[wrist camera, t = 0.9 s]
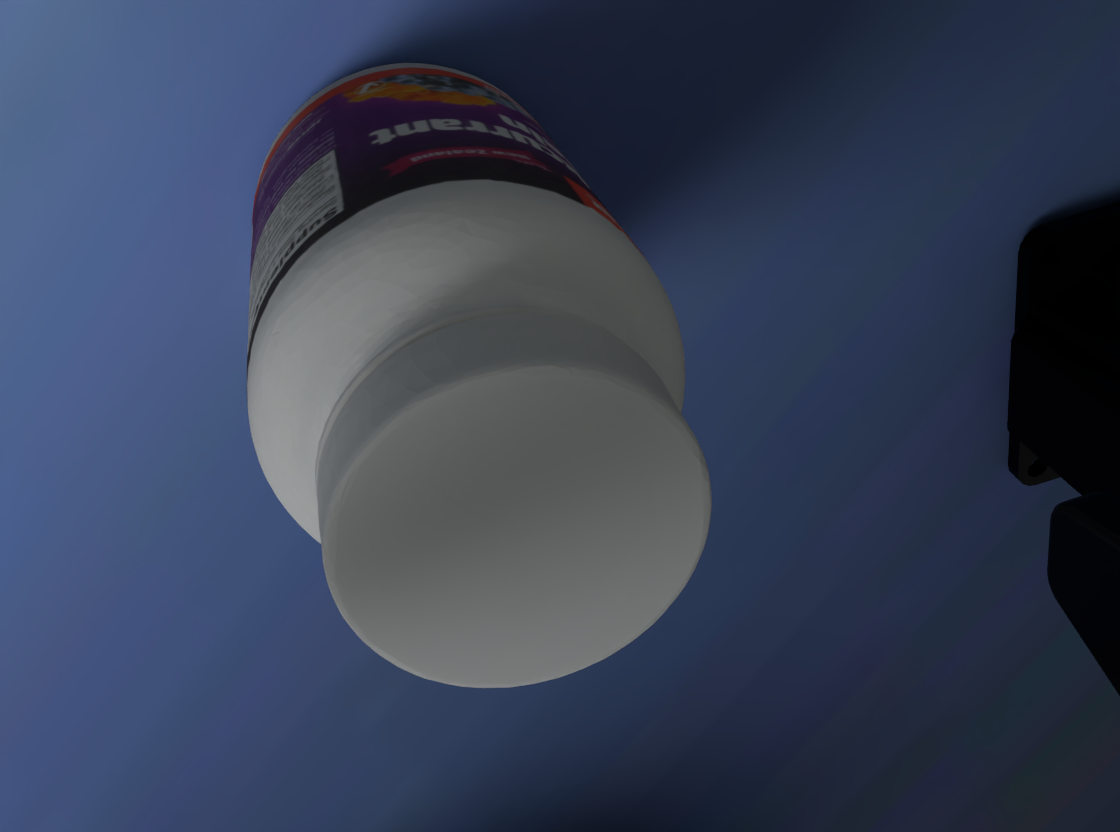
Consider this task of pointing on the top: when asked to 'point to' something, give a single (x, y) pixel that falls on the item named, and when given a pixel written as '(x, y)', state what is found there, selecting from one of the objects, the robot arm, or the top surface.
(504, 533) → the pill bottle
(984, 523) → the top surface
